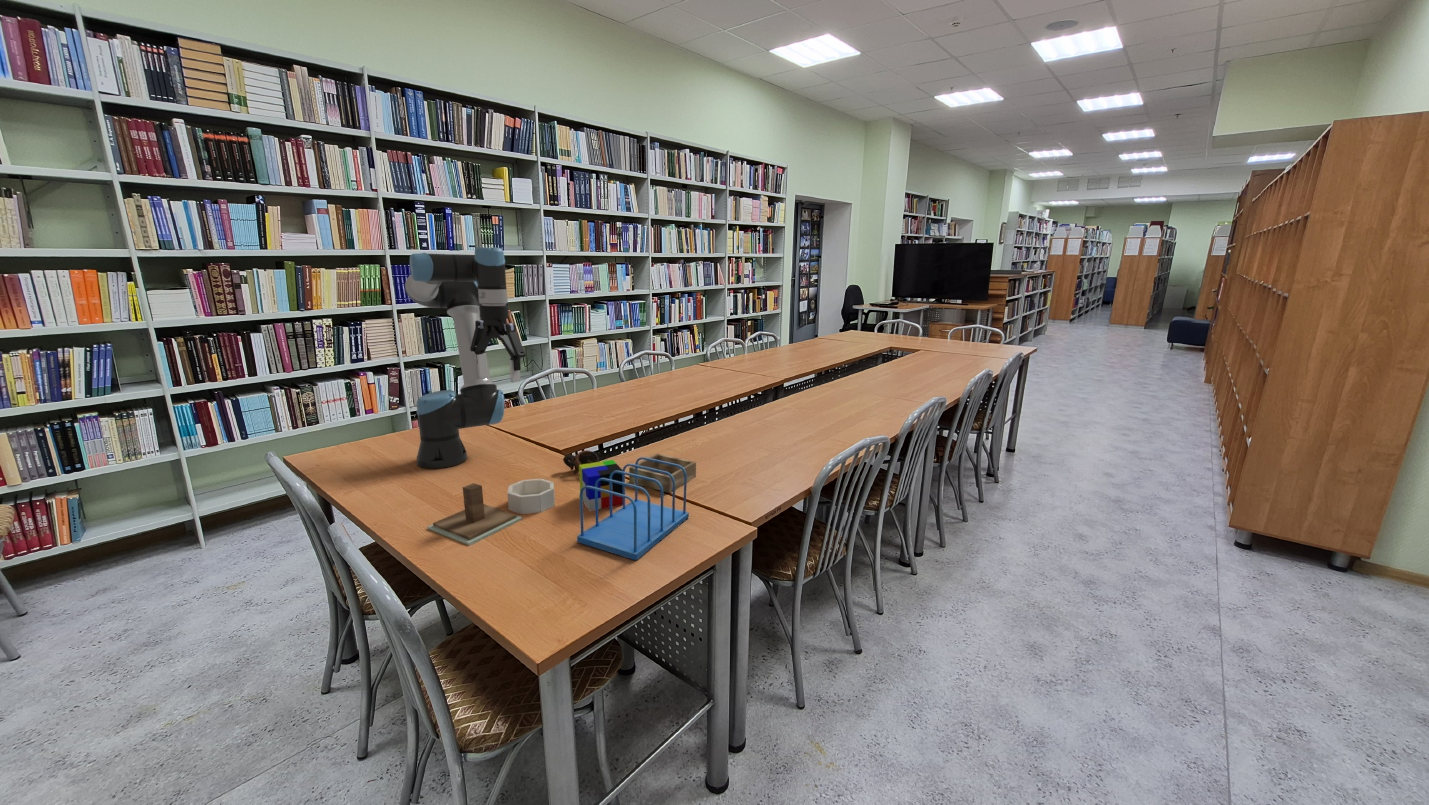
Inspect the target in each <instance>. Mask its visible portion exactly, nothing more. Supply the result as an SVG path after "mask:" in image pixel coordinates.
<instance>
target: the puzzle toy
mask: <svg viewBox="0 0 1429 805" xmlns="http://www.w3.org/2000/svg"><path fill="white" fill-rule="evenodd" d="M578 471H579V472H578V477H579V492H580V491H581V489H582V488H583V487H585V486H592V487H595V483H596V481H597V480H598V479H600V478H607V479H609V478H610V474H611V473H612V472H614V471H623V468H621V467H620V466H619V464H617V462H616V461H615V460H614V459H611V460H604V461H600V462H596V461H595V462H593V463H589V464H582V465H579V469H578ZM612 480H615V481H619V482H622V474H620V473H614V474H613V476H612ZM597 488H600V489H604V490H608V491H609V482H608V481H603V480H601V481H599V482H598V485H597ZM612 492H616V493H620V494H623V485H620V484H616V483H612ZM597 494H598V510H601V509H606V508H610V494H609V493H605V492H601V491H597ZM583 504H584V505H585V506H586V508H587V510H588V511H589V512H591V511H595V490H593V489H589V488H586V489H584V490H583ZM617 506H623V497H620V496H616V495H613V494H612V508H613V507H617Z"/></svg>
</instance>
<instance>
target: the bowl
mask: <svg viewBox="0 0 1429 805" xmlns="http://www.w3.org/2000/svg"><path fill="white" fill-rule="evenodd" d="M555 496H556V495H555V483H554V481H551V480H547V479H543V478H533V479H522V480H519V481H518V482H517V481H516V482H515V483H513V484H510V485H508V488H507V502H508V503H507V504H508V511H511V512H513V513H517V514H520V515H528V514H536V513H537V514H538V513H539V514H540V513H543V512H544V511H546V510H548V509H551V508H553V507H555V504H556V503H555V502H556V501H555V500H556V499H555Z"/></svg>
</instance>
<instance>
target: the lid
mask: <svg viewBox="0 0 1429 805" xmlns="http://www.w3.org/2000/svg"><path fill="white" fill-rule="evenodd" d="M462 494H463V495H462V496H463V505H464V509H463V510H461V511H459V512H456V513H454V514H451V515H448V516H447V517H445V518H442V519H440V520H437V521H435V522H433V523H432V524H433V526H435V527H437V528H440V529H442V530H445V531H447V532H450V533H452V534H455V535H458V536H460V537H463V538H465V539H468V540H472V539H474V538H476V537H478V536H480V535H482V534H484V533H486V532H488V531H490V530H492V529H494V528H496V527H498V526H501V525H503V524H505V523H507V522H509V521H511V520H513V519H515V518H516V515H517V514H514V513H512V512H509V511H506V510H502V509H500V508H496V507H494V506H491V505H488V504H485V503H484V494H483V486H482V484H478V483H475V482H473V483H470V484H468V485H465V486H462Z"/></svg>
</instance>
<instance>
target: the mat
mask: <svg viewBox="0 0 1429 805" xmlns="http://www.w3.org/2000/svg"><path fill="white" fill-rule="evenodd" d="M515 515H516V518H515V519H513V520H511V521H509V522H507V523H505V524H503V525H501V526H498V527H496V528H494V529H492V530H490V531H488V532H486V533H484V534H482V535H480V536H478V537H476V538H474V539H472V540H468V539H465V538H463V537H460V536H458V535H455V534H452V533H450V532H447V531H445V530H442V529H440V528H437V527H435V526H433V523H432V524H431V525H428V526H427V527H426V528H427V530H429V531H432V532H434V533H437V534H439V535H442V536H445V537H446V538H450V539H452V540H454V541H457V542H460V543H461V544H464V545H467V546H471V545H473V544H475V543H477V542H480V541H481V540H484V539H486V538H487V537H489V536H491V535H493V534H495V533H498V532H500V531H502V530H504V529H505V528H507V527H510V526H512V525H514V524H516V523H518V522H519V521H523V517H522V516H521V515H520V516H519V515H517V514H515Z"/></svg>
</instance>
